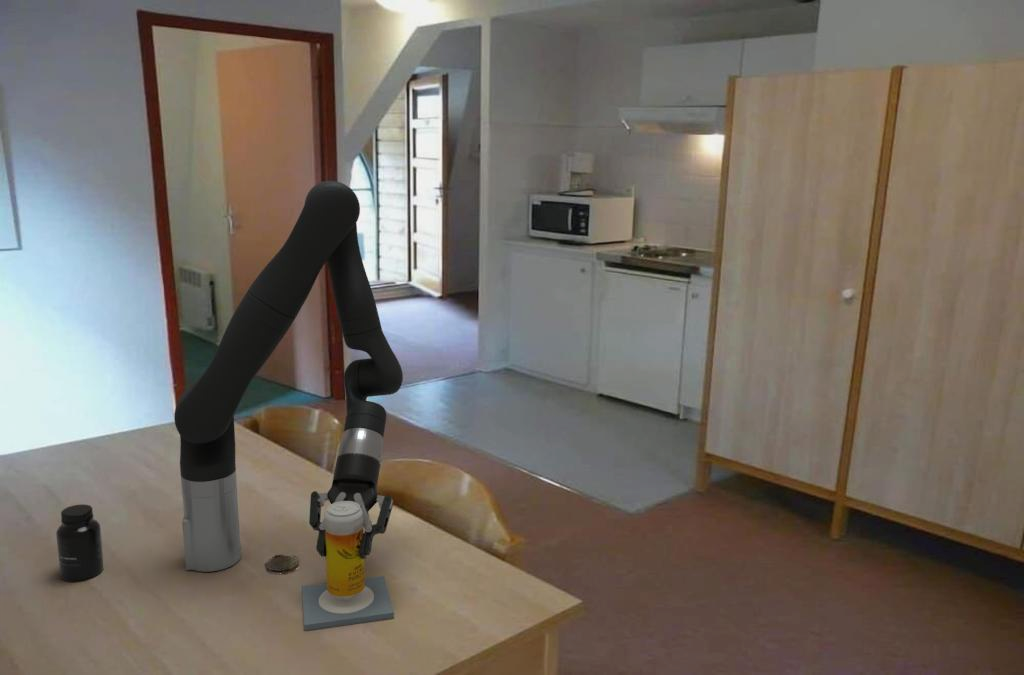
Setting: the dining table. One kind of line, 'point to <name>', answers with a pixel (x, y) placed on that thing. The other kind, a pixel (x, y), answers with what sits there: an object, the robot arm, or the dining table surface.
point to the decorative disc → (282, 564)
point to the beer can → (344, 549)
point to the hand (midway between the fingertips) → (342, 556)
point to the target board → (346, 605)
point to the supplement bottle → (79, 544)
